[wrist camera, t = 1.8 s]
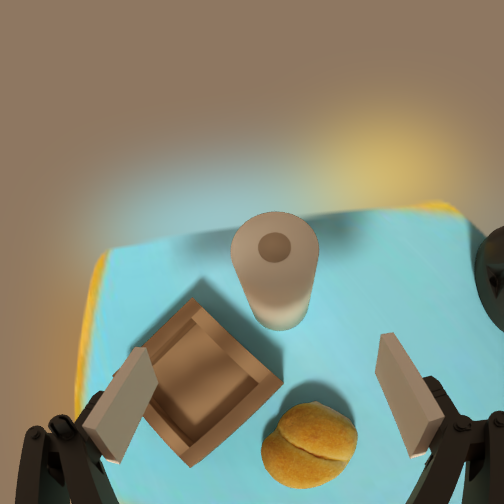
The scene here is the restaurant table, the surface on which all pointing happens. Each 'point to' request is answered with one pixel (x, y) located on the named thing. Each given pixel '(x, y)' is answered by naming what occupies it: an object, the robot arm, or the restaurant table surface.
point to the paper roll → (276, 267)
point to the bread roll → (309, 446)
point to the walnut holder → (202, 383)
